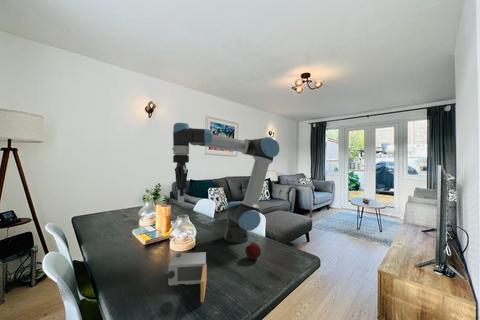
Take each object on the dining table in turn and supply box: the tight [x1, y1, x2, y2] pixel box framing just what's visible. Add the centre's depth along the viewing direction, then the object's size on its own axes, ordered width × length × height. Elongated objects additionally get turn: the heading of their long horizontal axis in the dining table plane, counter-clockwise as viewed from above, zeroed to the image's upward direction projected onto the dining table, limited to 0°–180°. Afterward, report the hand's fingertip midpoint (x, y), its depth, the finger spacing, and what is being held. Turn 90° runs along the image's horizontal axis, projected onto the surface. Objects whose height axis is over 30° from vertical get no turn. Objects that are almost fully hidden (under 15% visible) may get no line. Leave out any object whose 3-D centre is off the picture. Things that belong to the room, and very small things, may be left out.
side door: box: [200, 263, 208, 303], centre depth 76 cm, size 12×1×7 cm, turn 5°
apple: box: [245, 241, 262, 261], centre depth 103 cm, size 7×8×8 cm
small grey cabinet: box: [167, 251, 207, 286], centre depth 86 cm, size 14×11×9 cm
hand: (181, 202), depth 101 cm, fingers closed
